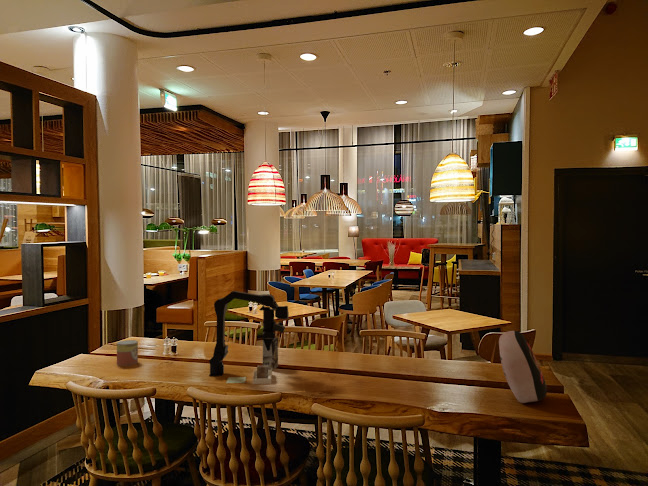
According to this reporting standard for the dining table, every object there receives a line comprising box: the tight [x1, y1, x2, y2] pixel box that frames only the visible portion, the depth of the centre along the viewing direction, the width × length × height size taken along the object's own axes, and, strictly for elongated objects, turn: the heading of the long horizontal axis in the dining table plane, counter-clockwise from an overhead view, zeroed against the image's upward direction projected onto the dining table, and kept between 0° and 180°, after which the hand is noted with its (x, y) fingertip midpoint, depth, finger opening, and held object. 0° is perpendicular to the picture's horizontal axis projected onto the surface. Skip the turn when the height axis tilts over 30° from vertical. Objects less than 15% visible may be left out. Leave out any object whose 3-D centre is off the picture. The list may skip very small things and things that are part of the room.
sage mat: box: [225, 376, 247, 384], centre depth 233 cm, size 9×9×1 cm
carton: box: [252, 368, 273, 385], centre depth 235 cm, size 9×15×4 cm, turn 5°
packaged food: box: [498, 330, 548, 404], centre depth 206 cm, size 22×20×30 cm
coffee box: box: [262, 337, 279, 371], centre depth 258 cm, size 9×6×16 cm
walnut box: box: [256, 364, 269, 379], centre depth 235 cm, size 6×4×6 cm
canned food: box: [116, 339, 139, 367], centre depth 268 cm, size 11×11×12 cm
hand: (268, 348), depth 244 cm, fingers open, 9 cm apart
